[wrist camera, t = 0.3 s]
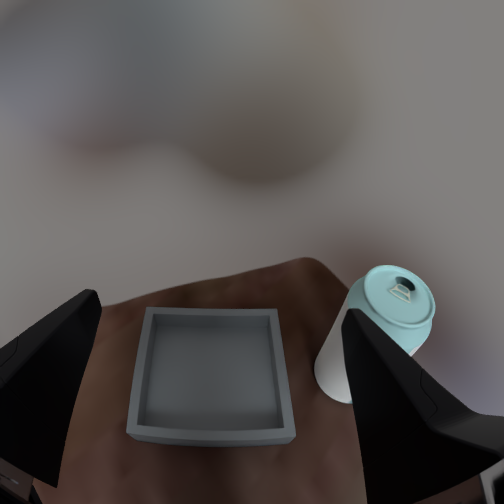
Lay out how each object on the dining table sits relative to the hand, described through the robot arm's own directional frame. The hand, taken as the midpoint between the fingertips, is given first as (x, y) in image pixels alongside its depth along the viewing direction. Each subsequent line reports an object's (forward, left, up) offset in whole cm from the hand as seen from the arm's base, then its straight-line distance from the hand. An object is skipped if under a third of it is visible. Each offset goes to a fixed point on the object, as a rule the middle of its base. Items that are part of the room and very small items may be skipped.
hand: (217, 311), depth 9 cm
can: (+5, -12, -17) cm, 21 cm away
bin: (+5, +1, -17) cm, 17 cm away
